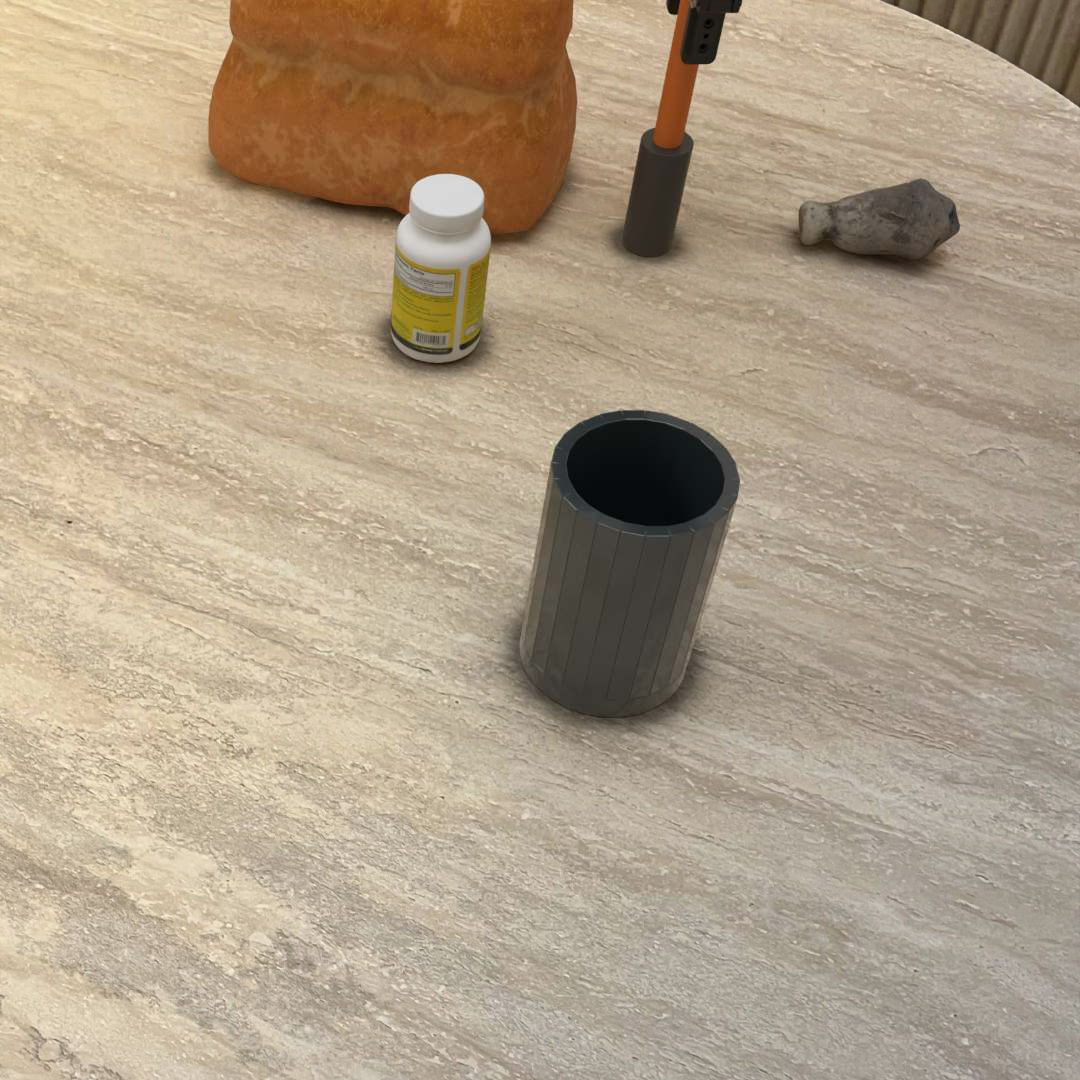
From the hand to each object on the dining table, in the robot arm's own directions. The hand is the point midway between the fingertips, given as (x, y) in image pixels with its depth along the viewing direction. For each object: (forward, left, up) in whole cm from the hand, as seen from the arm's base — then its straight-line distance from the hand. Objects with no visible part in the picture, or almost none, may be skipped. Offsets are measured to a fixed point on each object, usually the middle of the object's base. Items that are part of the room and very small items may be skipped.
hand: (689, 35), depth 110 cm
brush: (0, 0, -15) cm, 15 cm away
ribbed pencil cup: (+8, +40, -15) cm, 44 cm away
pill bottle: (+16, +11, -16) cm, 25 cm away
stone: (-16, +1, -16) cm, 22 cm away
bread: (+18, -10, -16) cm, 26 cm away
